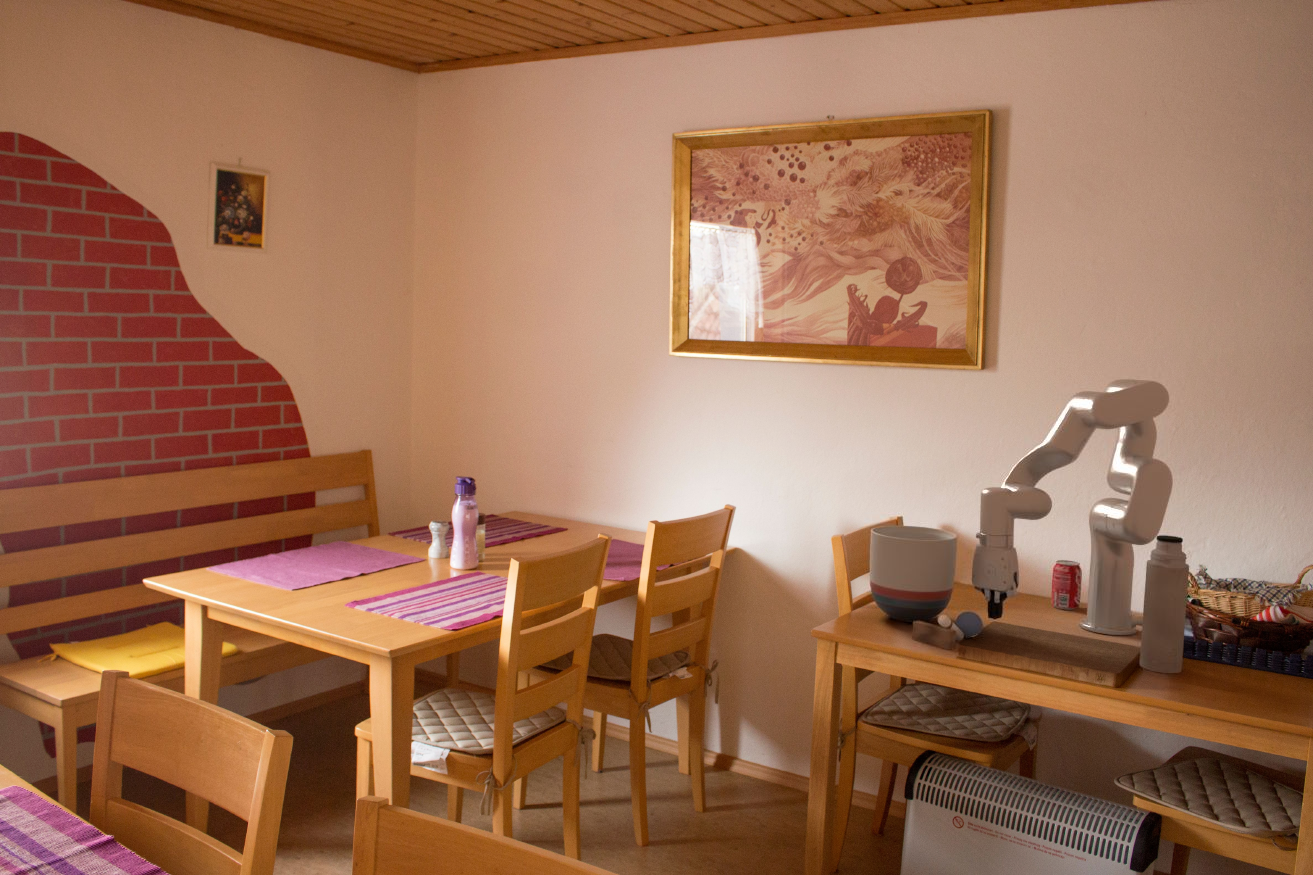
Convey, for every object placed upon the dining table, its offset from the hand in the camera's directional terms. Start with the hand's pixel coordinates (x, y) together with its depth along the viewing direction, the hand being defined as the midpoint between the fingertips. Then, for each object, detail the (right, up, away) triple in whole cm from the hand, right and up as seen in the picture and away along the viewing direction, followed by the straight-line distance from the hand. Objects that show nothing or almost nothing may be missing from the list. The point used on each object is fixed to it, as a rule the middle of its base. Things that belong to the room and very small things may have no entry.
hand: (994, 617), depth 240 cm
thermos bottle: (+27, -6, -24) cm, 37 cm away
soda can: (+27, -2, +27) cm, 38 cm away
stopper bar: (-18, -4, -11) cm, 21 cm away
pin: (-11, -3, -8) cm, 14 cm away
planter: (-18, -2, +10) cm, 20 cm away
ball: (-8, -1, -5) cm, 10 cm away
